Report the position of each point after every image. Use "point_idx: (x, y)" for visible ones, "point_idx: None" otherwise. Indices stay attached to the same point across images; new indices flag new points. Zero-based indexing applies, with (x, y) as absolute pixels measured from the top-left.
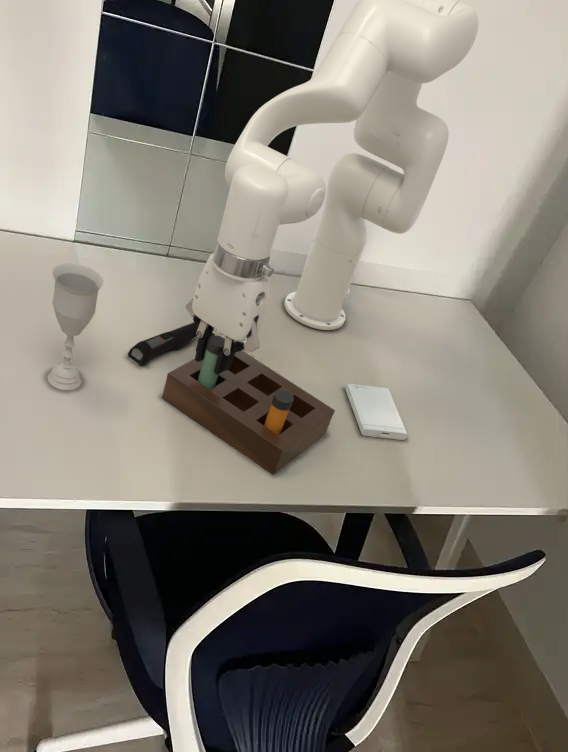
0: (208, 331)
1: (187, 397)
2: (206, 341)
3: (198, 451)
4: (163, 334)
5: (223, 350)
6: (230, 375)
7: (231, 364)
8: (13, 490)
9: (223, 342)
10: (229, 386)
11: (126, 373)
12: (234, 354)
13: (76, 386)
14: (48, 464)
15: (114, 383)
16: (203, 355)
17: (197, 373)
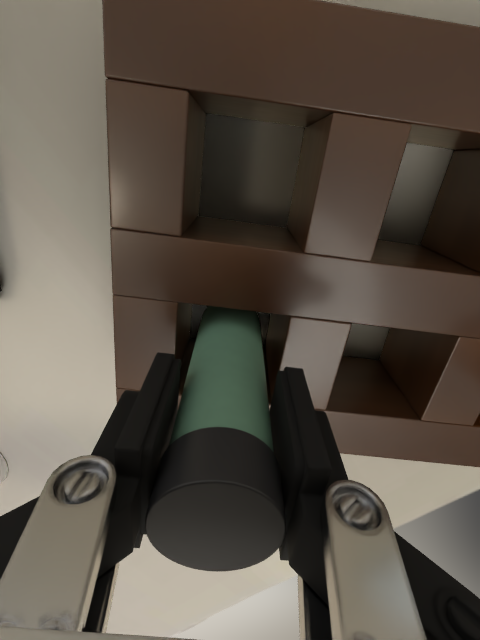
0: (109, 544)
1: None
2: None
3: None
4: None
5: (299, 577)
6: (289, 275)
7: (328, 422)
8: (155, 634)
9: (252, 519)
10: (320, 343)
11: (12, 351)
12: (345, 475)
13: (2, 466)
14: (147, 595)
15: (32, 402)
16: (172, 423)
17: (177, 340)
